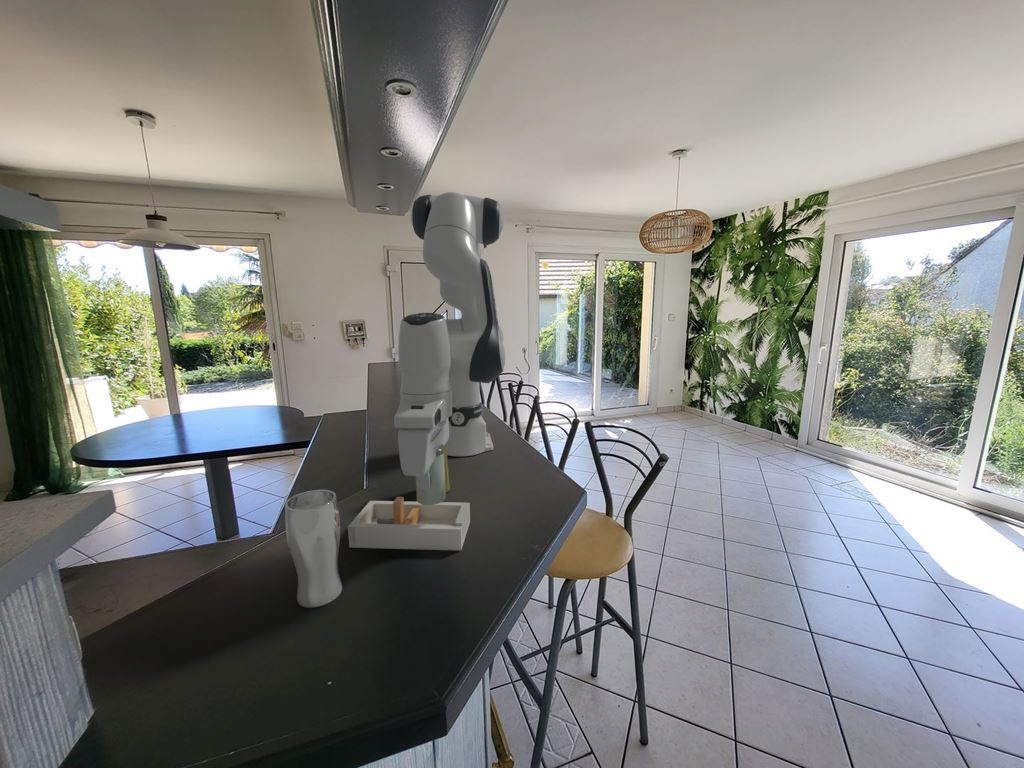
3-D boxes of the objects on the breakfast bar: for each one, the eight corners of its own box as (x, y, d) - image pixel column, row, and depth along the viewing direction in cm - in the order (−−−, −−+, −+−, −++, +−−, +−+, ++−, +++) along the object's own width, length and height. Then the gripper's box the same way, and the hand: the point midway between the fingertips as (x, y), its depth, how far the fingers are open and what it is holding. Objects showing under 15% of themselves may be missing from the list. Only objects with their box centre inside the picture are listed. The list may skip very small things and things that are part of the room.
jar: (420, 492, 78) (418, 442, 76) (448, 492, 78) (447, 443, 76) (412, 505, 73) (409, 452, 71) (442, 505, 73) (440, 452, 71)
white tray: (371, 519, 82) (370, 498, 82) (470, 521, 81) (469, 500, 81) (349, 547, 73) (347, 524, 72) (461, 550, 71) (460, 526, 71)
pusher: (385, 517, 80) (383, 491, 80) (419, 518, 80) (418, 491, 79) (371, 536, 74) (369, 508, 73) (408, 537, 73) (407, 509, 72)
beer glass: (309, 578, 64) (300, 488, 62) (353, 578, 64) (345, 489, 61) (283, 610, 57) (272, 510, 55) (332, 611, 57) (323, 511, 55)
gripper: (424, 394, 83) (427, 459, 85) (389, 420, 63) (394, 505, 65) (455, 394, 82) (457, 460, 85) (430, 421, 62) (434, 505, 65)
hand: (430, 480), depth 75 cm, fingers closed on jar, 5 cm apart
